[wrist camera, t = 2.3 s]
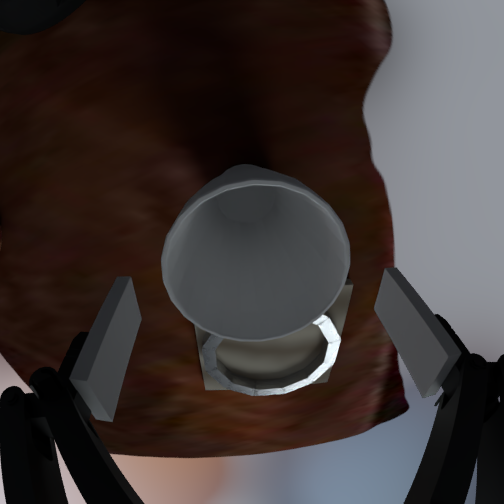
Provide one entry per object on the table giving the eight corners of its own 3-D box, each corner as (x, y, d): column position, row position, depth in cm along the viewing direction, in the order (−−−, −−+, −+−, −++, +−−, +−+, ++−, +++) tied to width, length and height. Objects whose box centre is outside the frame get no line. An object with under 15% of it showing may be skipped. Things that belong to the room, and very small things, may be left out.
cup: (213, 257, 31) (206, 358, 19) (172, 163, 26) (126, 221, 14) (311, 226, 30) (360, 312, 18) (282, 125, 25) (330, 151, 13)
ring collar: (197, 297, 32) (196, 307, 30) (346, 290, 33) (351, 300, 31) (210, 387, 40) (210, 397, 38) (323, 379, 41) (326, 388, 39)
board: (190, 285, 32) (189, 291, 31) (349, 278, 34) (353, 284, 33) (205, 383, 41) (205, 390, 40) (325, 375, 42) (327, 381, 41)
